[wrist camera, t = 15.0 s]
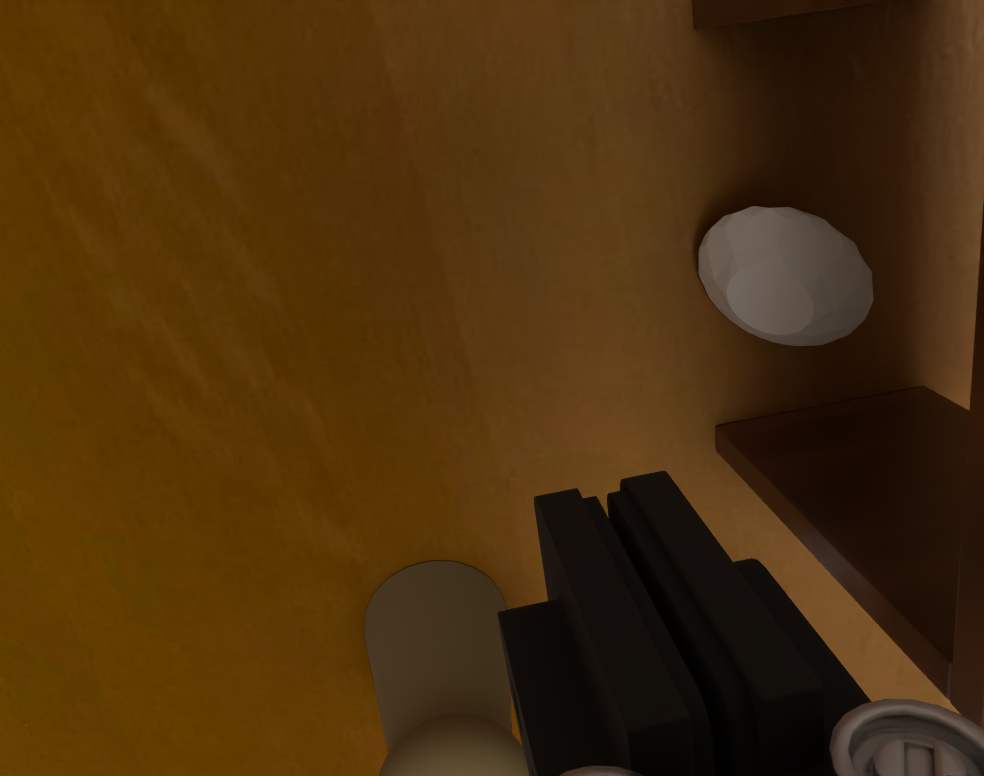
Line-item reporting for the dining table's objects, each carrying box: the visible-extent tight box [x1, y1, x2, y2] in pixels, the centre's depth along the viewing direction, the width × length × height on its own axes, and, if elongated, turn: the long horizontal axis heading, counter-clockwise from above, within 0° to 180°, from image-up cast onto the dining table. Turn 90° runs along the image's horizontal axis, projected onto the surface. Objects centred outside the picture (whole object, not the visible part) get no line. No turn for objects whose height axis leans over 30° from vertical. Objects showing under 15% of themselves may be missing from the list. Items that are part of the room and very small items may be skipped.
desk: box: [693, 0, 984, 729], centre depth 24 cm, size 17×9×16 cm, turn 8°
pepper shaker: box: [364, 561, 529, 776], centre depth 30 cm, size 6×6×11 cm
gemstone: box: [699, 206, 874, 346], centre depth 30 cm, size 6×6×5 cm
